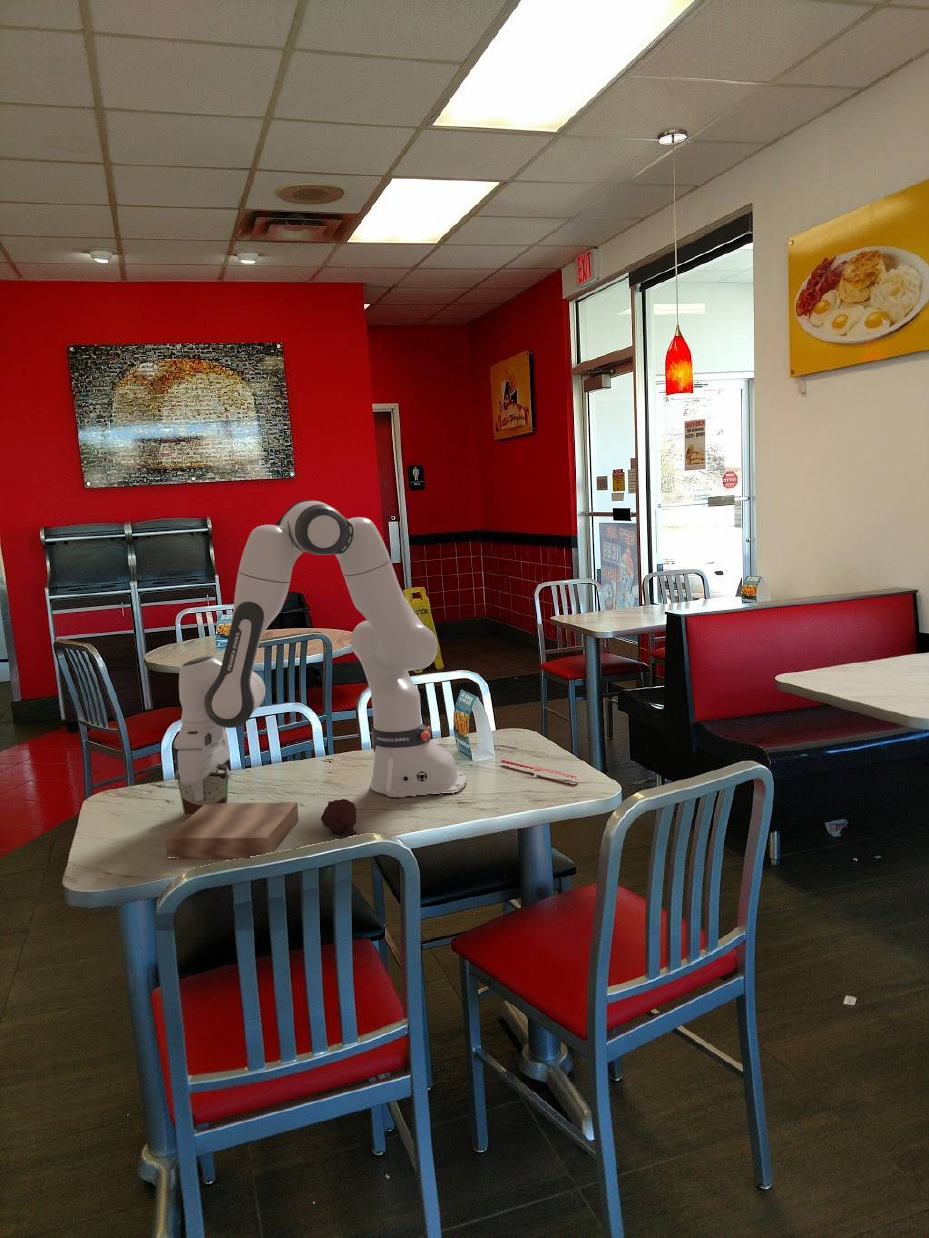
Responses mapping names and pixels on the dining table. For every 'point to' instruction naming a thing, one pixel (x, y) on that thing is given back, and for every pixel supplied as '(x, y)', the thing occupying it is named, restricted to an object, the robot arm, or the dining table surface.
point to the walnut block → (233, 830)
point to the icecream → (340, 817)
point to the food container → (213, 788)
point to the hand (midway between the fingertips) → (208, 792)
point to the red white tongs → (534, 767)
